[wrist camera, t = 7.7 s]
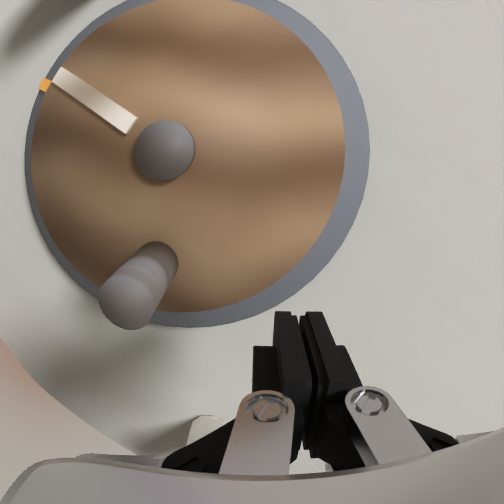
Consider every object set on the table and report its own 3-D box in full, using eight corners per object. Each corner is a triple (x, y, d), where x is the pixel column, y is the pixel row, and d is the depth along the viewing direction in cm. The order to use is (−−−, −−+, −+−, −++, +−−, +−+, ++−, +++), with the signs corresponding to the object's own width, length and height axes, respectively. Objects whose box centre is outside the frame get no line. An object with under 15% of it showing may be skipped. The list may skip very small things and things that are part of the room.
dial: (69, 19, 13) (13, -14, 7) (353, 30, 14) (399, -17, 7) (46, 276, 18) (-9, 319, 12) (304, 317, 19) (325, 386, 13)
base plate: (371, 18, 15) (381, 8, 13) (327, 329, 21) (333, 343, 20) (61, 12, 14) (49, 5, 12) (44, 292, 20) (33, 302, 19)
